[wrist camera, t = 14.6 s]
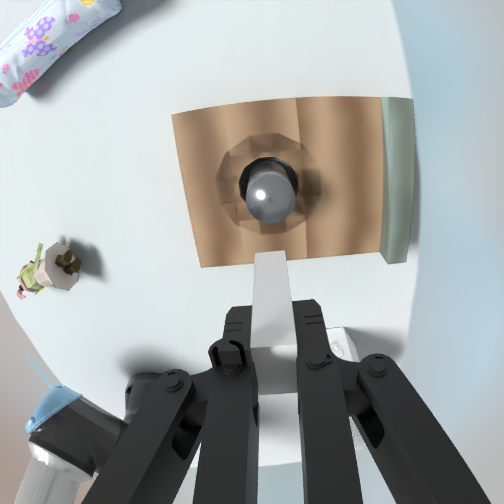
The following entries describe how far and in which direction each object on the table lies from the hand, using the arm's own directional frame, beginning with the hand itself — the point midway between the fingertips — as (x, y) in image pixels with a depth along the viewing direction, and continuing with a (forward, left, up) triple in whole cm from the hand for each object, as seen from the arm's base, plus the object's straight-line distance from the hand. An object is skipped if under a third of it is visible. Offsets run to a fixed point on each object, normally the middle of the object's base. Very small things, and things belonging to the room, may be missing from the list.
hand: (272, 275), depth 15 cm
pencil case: (-24, +24, -21) cm, 40 cm away
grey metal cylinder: (0, 0, -20) cm, 20 cm away
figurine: (-35, -7, -20) cm, 41 cm away
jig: (+3, 0, -20) cm, 20 cm away
